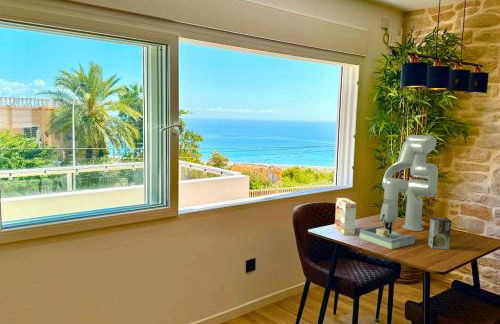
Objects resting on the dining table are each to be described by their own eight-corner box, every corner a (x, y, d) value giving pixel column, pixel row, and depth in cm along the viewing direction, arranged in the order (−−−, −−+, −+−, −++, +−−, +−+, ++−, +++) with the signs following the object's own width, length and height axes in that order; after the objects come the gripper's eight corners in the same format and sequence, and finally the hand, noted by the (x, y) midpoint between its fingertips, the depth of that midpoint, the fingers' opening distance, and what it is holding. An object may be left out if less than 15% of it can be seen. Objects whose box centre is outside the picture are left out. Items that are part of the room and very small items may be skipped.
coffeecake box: (334, 228, 247) (335, 197, 244) (344, 228, 248) (346, 197, 246) (343, 235, 232) (345, 203, 230) (354, 235, 233) (356, 203, 231)
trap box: (382, 233, 239) (382, 225, 239) (414, 243, 221) (415, 235, 220) (359, 237, 229) (360, 229, 228) (391, 249, 210) (391, 240, 210)
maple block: (381, 234, 226) (382, 227, 226) (388, 236, 222) (389, 230, 221) (375, 235, 223) (376, 228, 223) (383, 238, 219) (383, 231, 219)
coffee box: (444, 245, 219) (447, 217, 217) (449, 249, 213) (452, 220, 211) (427, 244, 220) (430, 216, 218) (431, 248, 214) (434, 219, 212)
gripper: (393, 199, 230) (391, 230, 232) (376, 201, 222) (374, 233, 224) (404, 202, 224) (402, 233, 226) (387, 204, 216) (385, 237, 218)
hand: (388, 233), depth 225 cm, fingers closed
